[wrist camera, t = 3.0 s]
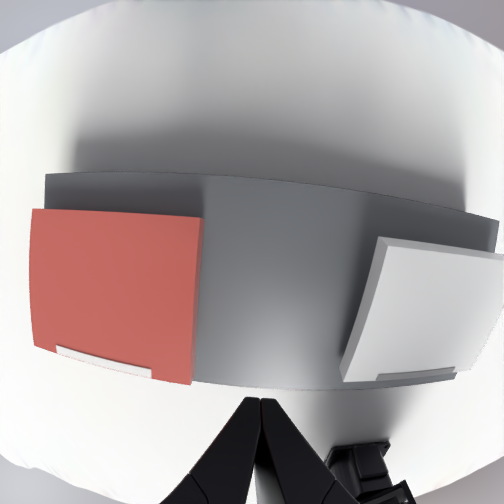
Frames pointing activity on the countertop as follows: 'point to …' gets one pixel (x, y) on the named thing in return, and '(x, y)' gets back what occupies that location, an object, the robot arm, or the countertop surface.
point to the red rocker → (117, 289)
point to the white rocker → (423, 311)
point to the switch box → (276, 264)
